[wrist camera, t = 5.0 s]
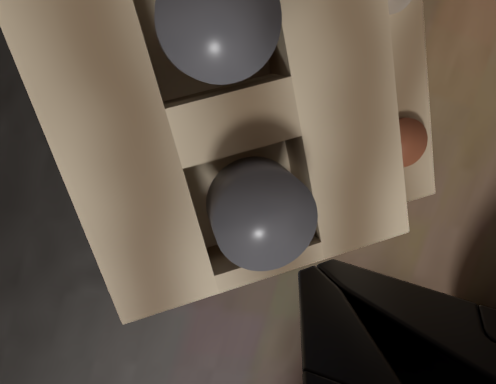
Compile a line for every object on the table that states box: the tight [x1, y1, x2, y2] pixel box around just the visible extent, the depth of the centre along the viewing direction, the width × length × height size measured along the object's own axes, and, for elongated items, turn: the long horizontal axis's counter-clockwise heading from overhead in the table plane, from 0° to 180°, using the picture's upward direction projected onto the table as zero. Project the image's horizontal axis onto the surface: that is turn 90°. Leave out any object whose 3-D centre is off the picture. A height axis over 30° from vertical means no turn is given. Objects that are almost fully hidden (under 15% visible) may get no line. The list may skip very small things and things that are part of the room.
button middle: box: [154, 0, 282, 85], centre depth 12 cm, size 4×4×2 cm
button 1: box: [206, 156, 318, 271], centre depth 15 cm, size 4×4×2 cm
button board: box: [0, 0, 435, 325], centre depth 15 cm, size 15×19×4 cm
